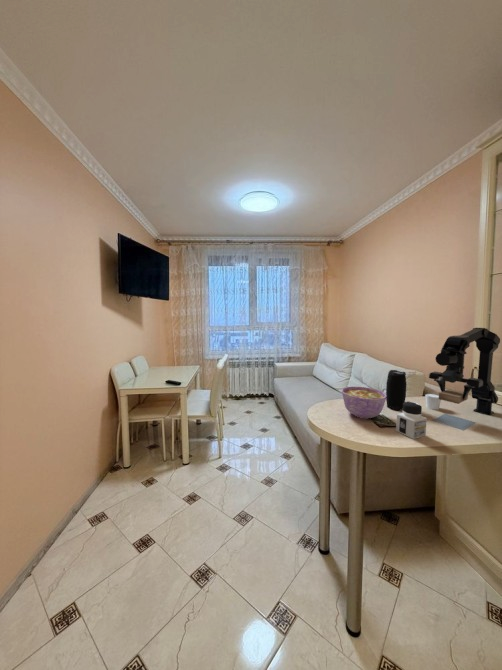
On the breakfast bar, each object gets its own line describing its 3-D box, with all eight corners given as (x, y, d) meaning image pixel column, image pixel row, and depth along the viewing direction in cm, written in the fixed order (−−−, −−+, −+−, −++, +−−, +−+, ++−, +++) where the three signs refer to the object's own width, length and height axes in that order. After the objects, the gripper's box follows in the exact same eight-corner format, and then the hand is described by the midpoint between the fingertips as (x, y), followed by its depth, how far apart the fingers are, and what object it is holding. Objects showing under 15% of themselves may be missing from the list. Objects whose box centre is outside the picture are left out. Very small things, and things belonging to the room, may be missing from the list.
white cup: (435, 406, 136) (436, 393, 135) (443, 411, 129) (444, 398, 129) (421, 405, 137) (422, 393, 136) (429, 410, 130) (430, 397, 129)
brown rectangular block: (448, 394, 123) (448, 388, 123) (467, 399, 117) (468, 392, 117) (438, 399, 117) (439, 392, 117) (458, 403, 111) (458, 397, 111)
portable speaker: (408, 408, 132) (410, 372, 130) (397, 412, 128) (400, 374, 126) (392, 403, 140) (394, 369, 138) (381, 406, 135) (383, 370, 133)
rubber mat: (445, 414, 125) (445, 413, 125) (476, 423, 115) (476, 422, 115) (431, 421, 117) (431, 420, 117) (463, 431, 107) (463, 430, 107)
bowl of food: (360, 405, 137) (361, 384, 136) (395, 419, 119) (396, 395, 118) (332, 411, 128) (332, 389, 127) (365, 427, 110) (366, 401, 109)
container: (413, 439, 100) (415, 407, 99) (395, 431, 107) (397, 401, 106) (426, 435, 103) (428, 405, 102) (407, 428, 110) (409, 399, 109)
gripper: (424, 362, 119) (422, 394, 120) (475, 369, 103) (472, 406, 105) (435, 360, 125) (433, 390, 126) (484, 366, 109) (481, 401, 111)
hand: (453, 397), depth 117 cm, fingers closed on brown rectangular block, 7 cm apart
